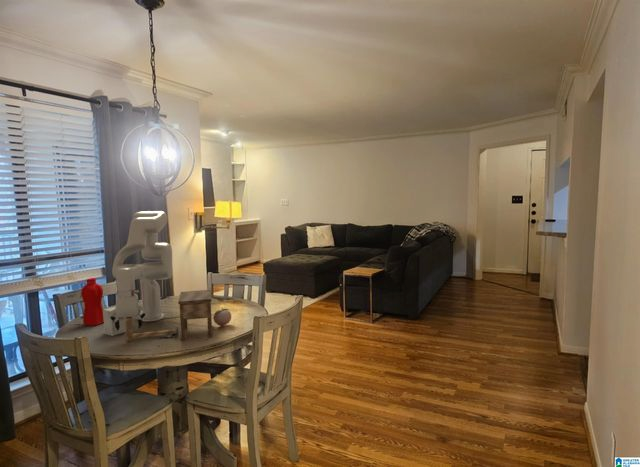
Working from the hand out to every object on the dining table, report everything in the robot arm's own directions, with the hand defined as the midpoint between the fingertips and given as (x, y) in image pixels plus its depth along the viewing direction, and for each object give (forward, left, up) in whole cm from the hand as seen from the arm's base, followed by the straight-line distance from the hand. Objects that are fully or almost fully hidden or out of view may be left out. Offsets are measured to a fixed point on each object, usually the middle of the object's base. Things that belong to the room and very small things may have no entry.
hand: (129, 328), depth 189 cm
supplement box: (-9, +13, -6) cm, 17 cm away
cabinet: (+31, 0, -6) cm, 32 cm away
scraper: (+10, 0, -6) cm, 12 cm away
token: (+18, 0, -6) cm, 19 cm away
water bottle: (-24, +33, -6) cm, 41 cm away
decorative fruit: (+44, +5, -6) cm, 45 cm away
